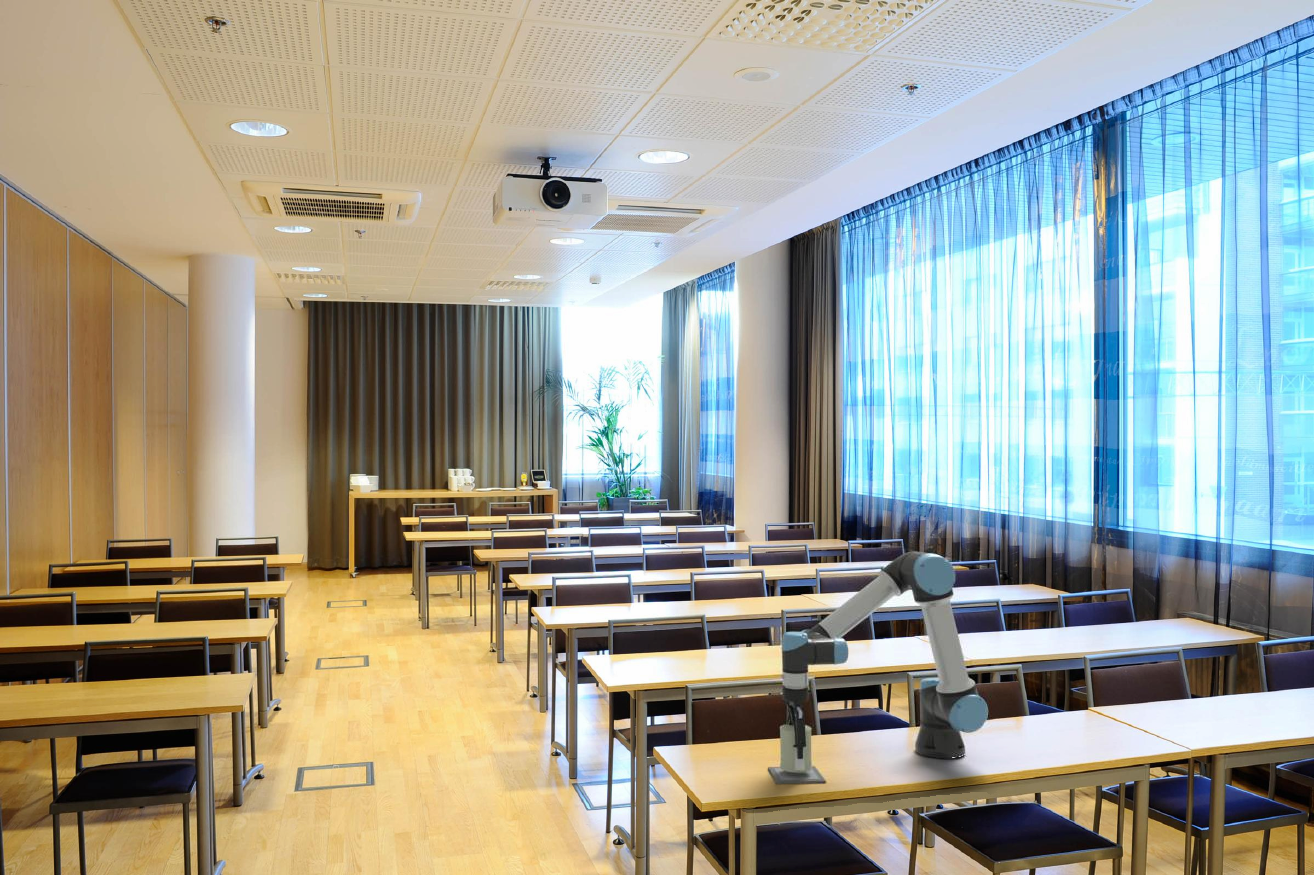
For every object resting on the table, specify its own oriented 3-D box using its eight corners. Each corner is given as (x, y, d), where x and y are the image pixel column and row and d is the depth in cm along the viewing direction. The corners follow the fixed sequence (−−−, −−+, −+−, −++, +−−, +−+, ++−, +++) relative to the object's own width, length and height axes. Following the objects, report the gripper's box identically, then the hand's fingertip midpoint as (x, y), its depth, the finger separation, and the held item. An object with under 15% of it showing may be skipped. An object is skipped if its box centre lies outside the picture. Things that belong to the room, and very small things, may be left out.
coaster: (814, 768, 280) (814, 765, 280) (825, 782, 266) (825, 780, 266) (768, 769, 280) (768, 766, 280) (776, 784, 266) (776, 781, 266)
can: (795, 774, 267) (795, 731, 267) (773, 766, 274) (773, 725, 275) (818, 768, 272) (818, 726, 273) (796, 761, 280) (795, 720, 280)
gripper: (775, 678, 285) (776, 754, 284) (790, 694, 263) (790, 776, 262) (800, 678, 285) (801, 753, 284) (816, 694, 264) (817, 775, 263)
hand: (796, 764), depth 273 cm, fingers closed on can, 9 cm apart
